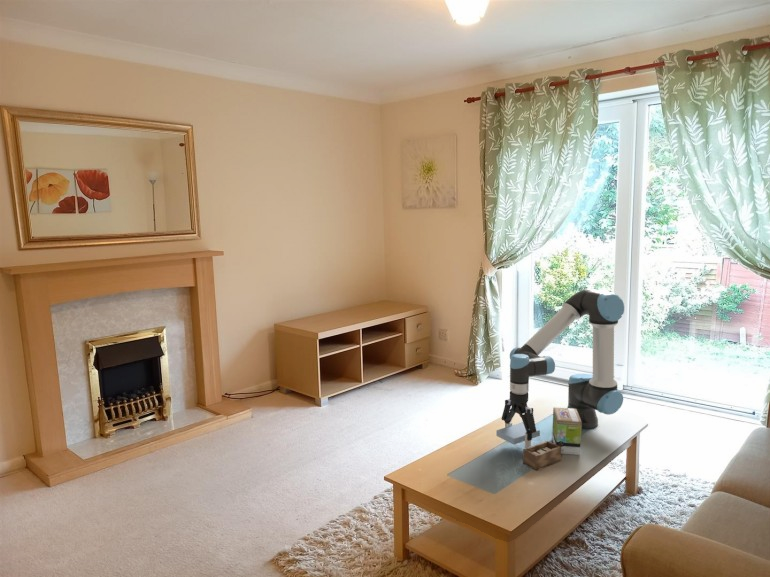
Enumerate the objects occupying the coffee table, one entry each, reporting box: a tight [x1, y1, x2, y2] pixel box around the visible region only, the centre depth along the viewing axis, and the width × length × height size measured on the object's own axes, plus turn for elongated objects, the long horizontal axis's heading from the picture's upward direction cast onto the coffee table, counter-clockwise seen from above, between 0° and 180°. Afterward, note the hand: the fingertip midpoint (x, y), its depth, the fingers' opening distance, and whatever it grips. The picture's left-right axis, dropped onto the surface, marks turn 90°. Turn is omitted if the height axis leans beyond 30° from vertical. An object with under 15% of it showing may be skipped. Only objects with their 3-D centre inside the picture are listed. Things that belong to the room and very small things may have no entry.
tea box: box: [551, 407, 583, 456], centre depth 224 cm, size 15×10×15 cm
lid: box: [496, 421, 541, 446], centre depth 222 cm, size 15×10×3 cm, turn 122°
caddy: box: [522, 440, 562, 471], centre depth 211 cm, size 14×7×6 cm, turn 122°
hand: (518, 442), depth 222 cm, fingers closed on lid, 10 cm apart
